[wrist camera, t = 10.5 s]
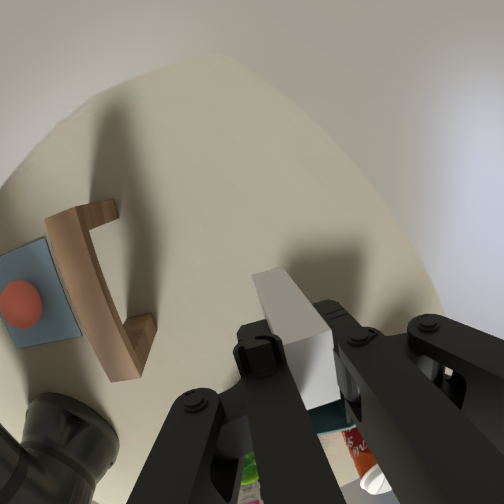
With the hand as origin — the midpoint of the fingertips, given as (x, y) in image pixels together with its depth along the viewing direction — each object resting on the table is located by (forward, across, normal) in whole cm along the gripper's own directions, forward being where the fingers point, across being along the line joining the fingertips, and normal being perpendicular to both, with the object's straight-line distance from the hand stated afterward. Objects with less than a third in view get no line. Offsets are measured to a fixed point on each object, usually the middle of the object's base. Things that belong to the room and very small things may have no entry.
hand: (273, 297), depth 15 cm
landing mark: (+16, +27, 0) cm, 32 cm away
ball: (+14, +26, 0) cm, 29 cm away
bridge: (+16, +13, 0) cm, 21 cm away
